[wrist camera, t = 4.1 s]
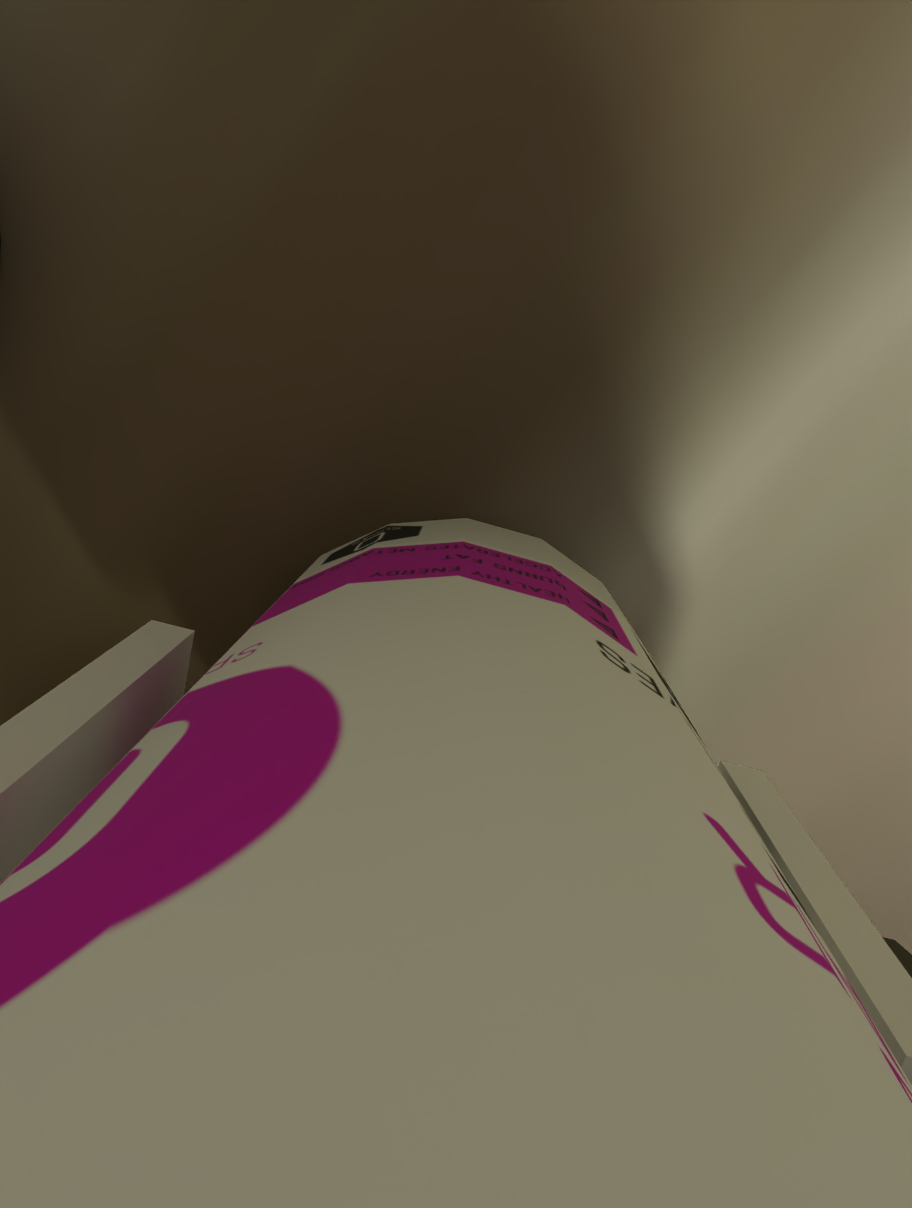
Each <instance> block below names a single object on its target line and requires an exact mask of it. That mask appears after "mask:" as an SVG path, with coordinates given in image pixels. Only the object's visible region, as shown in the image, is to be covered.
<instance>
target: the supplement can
mask: <svg viewBox="0 0 912 1208" xmlns="http://www.w3.org/2000/svg"><path fill="white" fill-rule="evenodd" d="M0 1208H912V1085H911V1083H910V1082H909V1080H908V1078H907V1077H906V1075H905V1073H904V1072H903V1070H902V1069H901V1067H900V1065H899V1064H898V1062H897V1060H896V1059H895V1057H894V1055H893V1054H892V1052H891V1050H890V1049H889V1047H888V1046H887V1044H886V1042H885V1041H884V1039H883V1037H882V1036H881V1034H880V1032H879V1031H878V1029H877V1027H876V1026H875V1024H874V1023H873V1021H872V1019H871V1018H870V1016H869V1014H868V1013H867V1011H866V1009H865V1008H864V1006H863V1004H862V1003H861V1001H860V1000H859V998H858V996H857V995H856V993H855V991H854V990H853V988H852V986H851V985H850V983H849V981H848V980H847V978H846V976H845V975H844V973H843V972H842V970H841V968H840V967H839V965H838V963H837V962H836V960H835V958H834V957H833V955H832V953H831V952H830V950H829V949H828V947H827V945H826V944H825V942H824V940H823V939H822V937H821V935H820V934H819V932H818V930H817V929H816V927H815V926H814V924H813V922H812V921H811V919H810V917H809V916H808V914H807V912H806V911H805V909H804V907H803V906H802V904H801V903H800V901H799V899H798V898H797V896H796V894H795V893H794V891H793V889H792V888H791V886H790V884H789V883H788V881H787V880H786V878H785V876H784V875H783V873H782V871H781V870H780V868H779V866H778V865H777V863H776V861H775V860H774V858H773V857H772V855H771V853H770V852H769V850H768V848H767V847H766V845H765V843H764V842H763V840H762V838H761V837H760V835H759V834H758V832H757V830H756V829H755V827H754V825H753V824H752V822H751V820H750V819H749V817H748V815H747V814H746V812H745V811H744V809H743V807H742V806H741V804H740V802H739V801H738V799H737V797H736V796H735V794H734V792H733V791H732V789H731V788H730V786H729V784H728V783H727V781H726V779H725V778H724V776H723V774H722V773H721V771H720V769H719V768H718V766H717V765H716V763H715V761H714V760H713V758H712V756H711V755H710V753H709V751H708V750H707V748H706V746H705V745H704V743H703V742H702V740H701V738H700V737H699V735H698V733H697V732H696V730H695V728H694V727H693V725H692V723H691V722H690V720H689V719H688V717H687V715H686V714H685V712H684V710H683V709H682V707H681V705H680V704H679V702H678V700H677V699H676V697H675V696H674V694H673V692H672V691H671V689H670V687H669V686H668V684H667V682H666V681H665V679H664V677H663V676H662V674H661V673H660V671H659V669H658V668H657V666H656V664H655V663H654V661H653V659H652V658H651V656H650V654H649V653H648V651H647V650H646V648H645V646H644V645H643V643H642V641H641V640H640V638H639V637H638V635H637V634H636V632H635V631H634V629H633V628H632V626H631V625H630V623H629V622H628V620H627V619H626V617H625V616H624V614H623V613H622V611H621V610H620V608H619V607H618V605H617V604H616V602H615V601H614V599H613V598H612V596H611V595H610V593H609V592H608V590H607V589H606V587H605V586H604V584H603V583H602V582H601V581H600V580H598V579H597V578H595V577H594V576H593V575H591V574H590V573H588V572H587V571H586V570H584V569H583V568H581V567H580V566H579V565H577V564H576V563H574V562H573V561H572V560H570V559H569V558H567V557H566V556H565V555H563V554H562V553H560V552H559V551H558V550H556V549H555V548H553V547H552V546H551V545H549V544H548V543H547V542H545V541H544V540H542V539H541V538H537V537H533V536H530V535H526V534H523V533H519V532H515V531H512V530H508V529H505V528H501V527H498V526H494V525H490V524H487V523H483V522H480V521H476V520H472V519H469V518H459V519H446V520H433V521H420V522H406V523H393V524H388V525H386V526H384V527H382V528H379V529H377V530H375V531H373V532H371V533H368V534H366V535H364V536H362V537H360V538H357V539H355V540H353V541H351V542H349V543H346V544H344V545H342V546H340V547H338V548H336V549H333V550H331V551H329V552H327V553H325V554H322V555H321V556H320V557H319V558H318V559H317V560H316V561H315V562H314V563H313V564H312V565H311V566H310V567H309V568H308V569H307V570H306V571H305V572H304V573H303V574H302V575H301V576H300V577H299V578H298V579H297V580H296V581H295V582H294V583H293V584H292V585H291V586H290V587H289V588H288V589H287V590H286V591H285V592H284V593H283V594H282V595H281V596H280V597H279V598H278V599H277V600H276V601H275V602H274V604H273V605H272V606H271V607H270V608H269V609H268V610H267V611H266V612H265V613H264V614H263V615H262V616H261V617H260V618H259V619H258V620H257V621H256V622H255V623H254V624H253V625H252V626H251V627H250V628H249V629H248V630H247V631H246V632H245V633H244V634H243V635H242V636H241V637H240V638H239V639H238V640H237V641H236V642H235V643H234V644H233V646H232V647H231V648H230V649H229V650H228V651H227V652H226V653H225V654H224V655H223V656H222V657H221V658H220V659H219V660H218V661H217V662H216V663H215V664H214V665H213V666H212V667H211V668H210V669H209V670H208V671H207V672H206V673H205V674H204V675H203V676H202V677H201V678H200V679H199V680H198V681H197V682H196V683H195V684H194V686H193V687H192V688H191V689H190V690H189V691H188V692H187V693H186V694H185V695H184V696H183V697H182V698H181V699H180V700H179V701H178V702H177V703H176V704H175V705H174V706H173V707H172V708H171V709H170V710H169V711H168V712H167V713H166V714H165V715H164V716H163V717H162V718H161V719H160V720H159V721H158V722H157V723H156V724H155V726H154V727H153V728H152V729H151V730H150V731H149V732H148V733H147V734H146V735H145V736H144V737H143V738H142V739H141V740H140V741H139V742H138V743H137V744H136V745H135V746H134V747H133V748H132V749H131V750H130V751H129V752H128V753H127V754H126V755H125V756H124V757H123V758H122V759H121V760H120V761H119V762H118V763H117V764H116V766H115V767H114V768H113V769H112V770H111V771H110V772H109V773H108V774H107V775H106V776H105V777H104V778H103V779H102V780H101V781H100V782H99V783H98V784H97V785H96V786H95V787H94V788H93V789H92V790H91V791H90V792H89V793H88V794H87V795H86V796H85V797H84V798H83V799H82V800H81V801H80V802H79V803H78V804H77V805H76V807H75V808H74V809H73V810H72V811H71V812H70V813H69V814H68V815H67V816H66V817H65V818H64V819H63V820H62V821H61V822H60V823H59V824H58V825H57V826H56V827H55V828H54V829H53V830H52V831H51V832H50V833H49V834H48V835H47V836H46V837H45V838H44V839H43V840H42V841H41V842H40V843H39V844H38V845H37V847H36V848H35V849H34V850H33V851H32V852H31V853H30V854H29V855H28V856H27V857H26V858H25V859H24V860H23V861H22V862H21V863H20V864H19V865H18V866H17V867H16V868H15V869H14V870H13V871H12V872H11V873H10V874H9V875H8V876H7V877H6V878H5V879H4V880H3V881H2V882H1V883H0Z"/></svg>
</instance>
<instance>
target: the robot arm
mask: <svg viewBox="0 0 912 1208" xmlns="http://www.w3.org/2000/svg"><path fill="white" fill-rule="evenodd" d="M194 633H195V631H194V630H190V629H186V628H182V627H178V626H174V625H170V624H166V623H162V622H158V621H154V620H151V621H150V622H148V623H147V624H145V625H144V626H142V627H141V628H140V629H138V630H137V631H135V632H134V633H132V634H131V635H130V636H128V637H127V638H125V639H124V640H122V641H121V642H120V643H118V644H117V645H115V646H114V647H112V648H111V649H110V650H108V651H107V652H105V653H104V654H102V655H101V656H100V657H98V658H97V659H95V660H94V661H92V662H91V663H90V664H88V665H87V666H85V667H84V668H82V669H81V670H80V671H78V672H77V673H75V674H74V675H72V676H71V677H70V678H68V679H67V680H65V681H64V682H62V683H61V684H60V685H58V686H57V687H55V688H54V689H52V690H51V691H50V692H48V693H47V694H45V695H44V696H42V697H41V698H40V699H38V700H37V701H35V702H34V703H32V704H31V705H30V706H28V707H27V708H25V709H24V710H22V711H21V712H20V713H18V714H17V715H15V716H14V717H12V718H11V719H10V720H8V721H7V722H5V723H4V724H2V725H1V726H0V883H1V882H2V881H3V880H4V879H5V878H6V877H7V876H8V875H9V874H10V873H11V872H12V871H13V870H14V869H15V868H16V867H17V866H18V865H19V864H20V863H21V862H22V861H23V860H24V859H25V858H26V857H27V856H28V855H29V854H30V853H31V852H32V851H33V850H34V849H35V848H36V847H37V845H38V844H39V843H40V842H41V841H42V840H43V839H44V838H45V837H46V836H47V835H48V834H49V833H50V832H51V831H52V830H53V829H54V828H55V827H56V826H57V825H58V824H59V823H60V822H61V821H62V820H63V819H64V818H65V817H66V816H67V815H68V814H69V813H70V812H71V811H72V810H73V809H74V808H75V807H76V805H77V804H78V803H79V802H80V801H81V800H82V799H83V798H84V797H85V796H86V795H87V794H88V793H89V792H90V791H91V790H92V789H93V788H94V787H95V786H96V785H97V784H98V783H99V782H100V781H101V780H102V779H103V778H104V777H105V776H106V775H107V774H108V773H109V772H110V771H111V770H112V769H113V768H114V767H115V766H116V764H117V763H118V762H119V761H120V760H121V759H122V758H123V757H124V756H125V755H126V754H127V753H128V752H129V751H130V750H131V749H132V748H133V747H134V746H135V745H136V744H137V743H138V742H139V741H140V740H141V739H142V738H143V737H144V736H145V735H146V734H147V733H148V732H149V731H150V730H151V729H152V728H153V727H154V726H155V724H156V723H157V722H158V721H159V720H160V719H161V718H162V717H163V716H164V715H165V714H166V713H167V712H168V711H169V710H170V709H171V708H172V707H173V706H174V705H175V704H176V703H177V702H178V701H179V700H180V699H181V698H182V697H183V696H184V691H185V685H186V679H187V674H188V668H189V662H190V656H191V650H192V645H193V639H194ZM718 768H719V769H720V771H721V773H722V774H723V776H724V778H725V779H726V781H727V783H728V784H729V786H730V788H731V789H732V791H733V792H734V794H735V796H736V797H737V799H738V801H739V802H740V804H741V806H742V807H743V809H744V811H745V812H746V814H747V815H748V817H749V819H750V820H751V822H752V824H753V825H754V827H755V829H756V830H757V832H758V834H759V835H760V837H761V838H762V840H763V842H764V843H765V845H766V847H767V848H768V850H769V852H770V853H771V855H772V857H773V858H774V860H775V861H776V863H777V865H778V866H779V868H780V870H781V871H782V873H783V875H784V876H785V878H786V880H787V881H788V883H789V884H790V886H791V888H792V889H793V891H794V893H795V894H796V896H797V898H798V899H799V901H800V903H801V904H802V906H803V907H804V909H805V911H806V912H807V914H808V916H809V917H810V919H811V921H812V922H813V924H814V926H815V927H816V929H817V930H818V932H819V934H820V935H821V937H822V939H823V940H824V942H825V944H826V945H827V947H828V949H829V950H830V952H831V953H832V955H833V957H834V958H835V960H836V962H837V963H838V965H839V967H840V968H841V970H842V972H843V973H844V975H845V976H846V978H847V980H848V981H849V983H850V985H851V986H852V988H853V990H854V991H855V993H856V995H857V996H858V998H859V1000H860V1001H861V1003H862V1004H863V1006H864V1008H865V1009H866V1011H867V1013H868V1014H869V1016H870V1018H871V1019H872V1021H873V1023H874V1024H875V1026H876V1027H877V1029H878V1031H879V1032H880V1034H881V1036H882V1037H883V1039H884V1041H885V1042H886V1044H887V1046H888V1047H889V1049H890V1050H891V1052H892V1054H893V1055H894V1057H895V1059H896V1060H897V1062H898V1064H899V1065H900V1067H901V1069H902V1070H903V1072H904V1073H905V1075H906V1077H907V1078H908V1080H909V1082H910V1083H911V1085H912V955H911V954H910V953H909V952H908V951H907V950H905V949H904V948H903V947H902V946H901V945H900V944H898V943H897V942H896V941H895V940H892V939H888V938H884V937H882V936H881V935H880V934H879V932H878V931H877V929H876V928H875V927H874V925H873V924H872V922H871V921H870V920H869V918H868V917H867V915H866V914H865V913H864V911H863V910H862V909H861V907H860V906H859V904H858V903H857V902H856V900H855V899H854V897H853V896H852V895H851V893H850V892H849V890H848V889H847V888H846V886H845V885H844V884H843V882H842V881H841V879H840V878H839V877H838V875H837V874H836V872H835V871H834V870H833V868H832V867H831V865H830V864H829V863H828V861H827V860H826V859H825V857H824V856H823V854H822V853H821V852H820V850H819V849H818V847H817V846H816V845H815V843H814V842H813V840H812V839H811V838H810V836H809V835H808V833H807V832H806V831H805V829H804V828H803V827H802V825H801V824H800V822H799V821H798V820H797V818H796V817H795V815H794V814H793V813H792V811H791V810H790V808H789V807H788V806H787V804H786V803H785V802H784V800H783V799H782V797H781V796H780V795H779V793H778V792H777V790H776V789H775V788H774V786H773V785H772V783H771V782H770V781H769V779H768V778H767V777H766V775H765V774H764V772H763V771H761V770H757V769H753V768H749V767H745V766H741V765H737V764H733V763H729V762H725V761H721V762H720V764H719V767H718Z"/></svg>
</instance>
